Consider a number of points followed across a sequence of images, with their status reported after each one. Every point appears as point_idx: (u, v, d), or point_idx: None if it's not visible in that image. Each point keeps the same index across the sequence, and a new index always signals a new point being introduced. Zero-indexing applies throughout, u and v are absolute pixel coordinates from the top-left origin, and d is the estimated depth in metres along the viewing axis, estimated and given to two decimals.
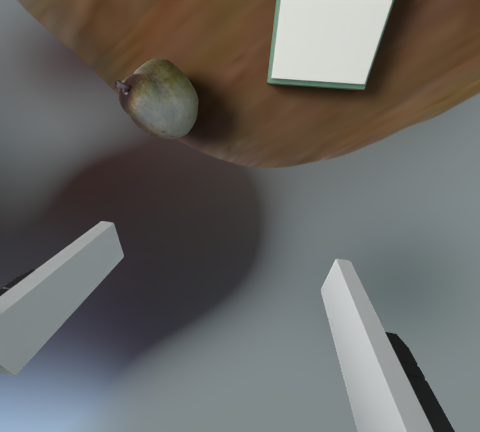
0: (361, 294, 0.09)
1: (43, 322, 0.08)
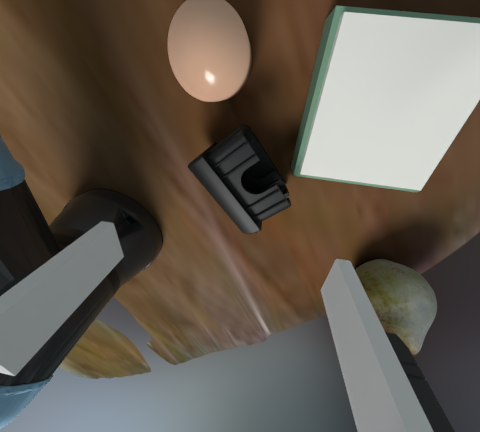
0: (361, 294, 0.09)
1: (43, 322, 0.08)
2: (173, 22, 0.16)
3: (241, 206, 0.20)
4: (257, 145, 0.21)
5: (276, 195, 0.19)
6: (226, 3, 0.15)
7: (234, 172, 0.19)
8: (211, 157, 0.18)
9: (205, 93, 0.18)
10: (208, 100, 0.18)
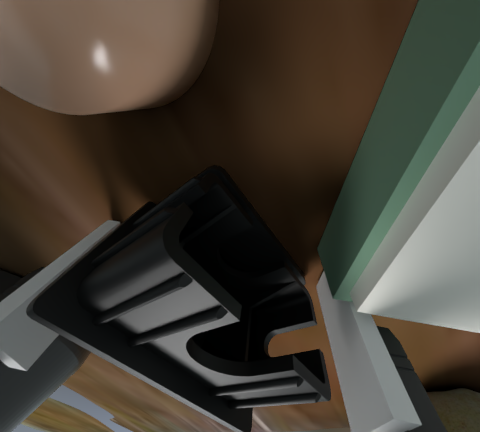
0: None
1: None
2: None
3: (195, 401, 0.07)
4: (242, 218, 0.09)
5: None
6: None
7: None
8: (84, 295, 0.06)
9: (52, 88, 0.05)
10: (69, 110, 0.05)
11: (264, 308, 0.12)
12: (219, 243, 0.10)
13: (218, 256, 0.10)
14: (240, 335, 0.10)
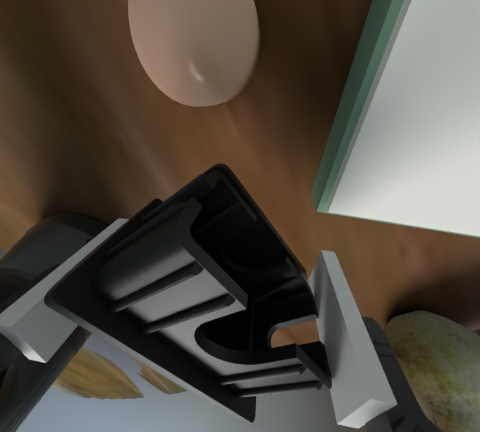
0: (342, 282, 0.09)
1: None
2: None
3: (202, 389, 0.08)
4: (246, 214, 0.09)
5: None
6: None
7: (172, 324, 0.06)
8: (98, 285, 0.06)
9: (188, 94, 0.12)
10: (194, 104, 0.12)
11: (267, 303, 0.12)
12: (224, 239, 0.10)
13: (223, 251, 0.11)
14: (244, 328, 0.10)
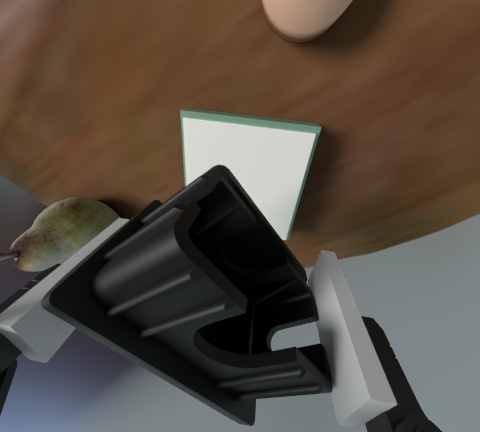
0: (342, 282, 0.09)
1: None
2: None
3: (201, 393, 0.07)
4: (246, 215, 0.09)
5: None
6: None
7: (171, 328, 0.06)
8: (96, 289, 0.06)
9: None
10: None
11: (267, 305, 0.12)
12: (223, 240, 0.10)
13: (222, 253, 0.11)
14: (243, 330, 0.10)
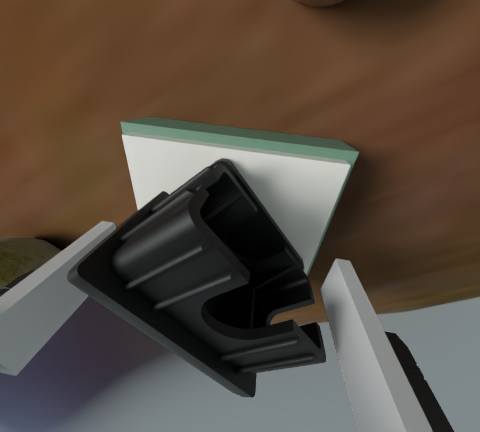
0: (361, 294, 0.09)
1: (44, 322, 0.08)
2: None
3: (207, 363, 0.08)
4: (248, 205, 0.10)
5: (293, 347, 0.08)
6: None
7: (182, 300, 0.07)
8: (116, 264, 0.07)
9: None
10: None
11: (266, 291, 0.13)
12: (226, 229, 0.11)
13: (225, 241, 0.11)
14: (245, 312, 0.11)
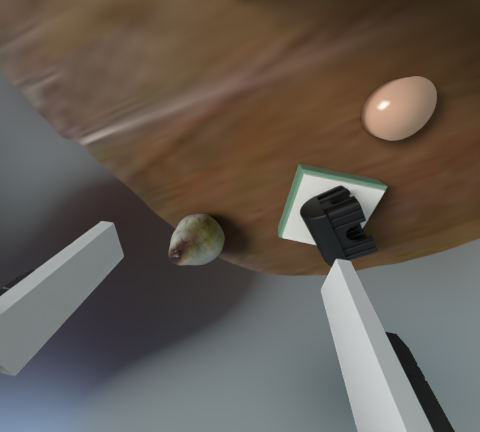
0: (361, 294, 0.09)
1: (43, 322, 0.08)
2: (432, 86, 0.23)
3: (342, 250, 0.27)
4: None
5: (370, 244, 0.26)
6: (420, 128, 0.25)
7: (344, 226, 0.25)
8: (329, 215, 0.25)
9: (380, 104, 0.24)
10: (375, 106, 0.24)
11: None
12: None
13: None
14: None
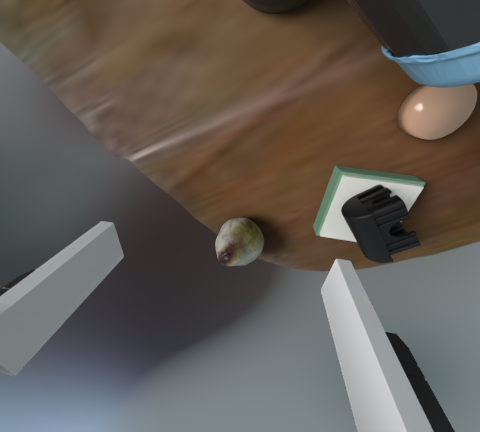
0: (361, 294, 0.09)
1: (43, 322, 0.08)
2: (472, 86, 0.24)
3: (386, 245, 0.28)
4: None
5: (413, 239, 0.28)
6: (459, 126, 0.26)
7: (388, 224, 0.27)
8: (374, 214, 0.27)
9: (420, 106, 0.25)
10: (414, 108, 0.26)
11: None
12: None
13: None
14: None
